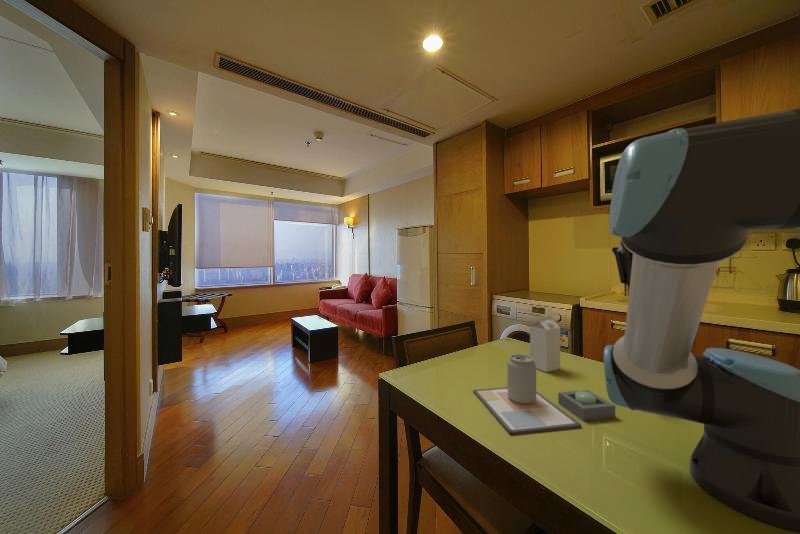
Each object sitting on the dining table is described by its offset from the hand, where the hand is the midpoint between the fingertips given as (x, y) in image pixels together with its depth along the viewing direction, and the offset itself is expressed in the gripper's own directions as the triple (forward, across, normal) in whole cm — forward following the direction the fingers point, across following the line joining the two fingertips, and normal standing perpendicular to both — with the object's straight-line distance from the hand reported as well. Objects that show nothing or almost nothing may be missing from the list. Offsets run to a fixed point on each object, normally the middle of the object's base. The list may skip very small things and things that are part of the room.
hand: (637, 312), depth 74 cm
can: (+26, +13, +24) cm, 37 cm away
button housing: (+26, +5, +10) cm, 29 cm away
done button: (+26, +5, +10) cm, 28 cm away
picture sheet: (+26, +10, +26) cm, 38 cm away
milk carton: (+26, +34, +1) cm, 43 cm away
